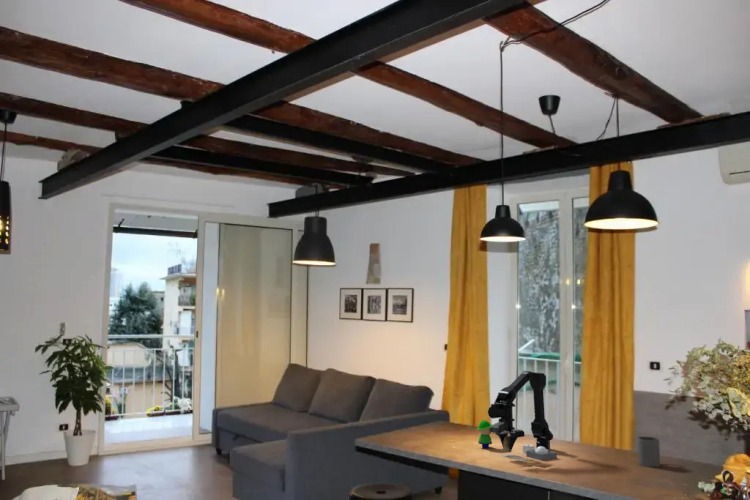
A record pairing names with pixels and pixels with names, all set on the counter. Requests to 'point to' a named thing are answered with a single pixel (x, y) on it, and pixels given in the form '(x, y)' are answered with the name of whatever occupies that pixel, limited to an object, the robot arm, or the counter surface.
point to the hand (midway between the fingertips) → (507, 449)
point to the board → (520, 459)
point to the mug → (648, 451)
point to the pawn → (506, 445)
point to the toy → (484, 434)
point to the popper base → (541, 455)
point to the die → (527, 448)
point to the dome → (541, 450)
